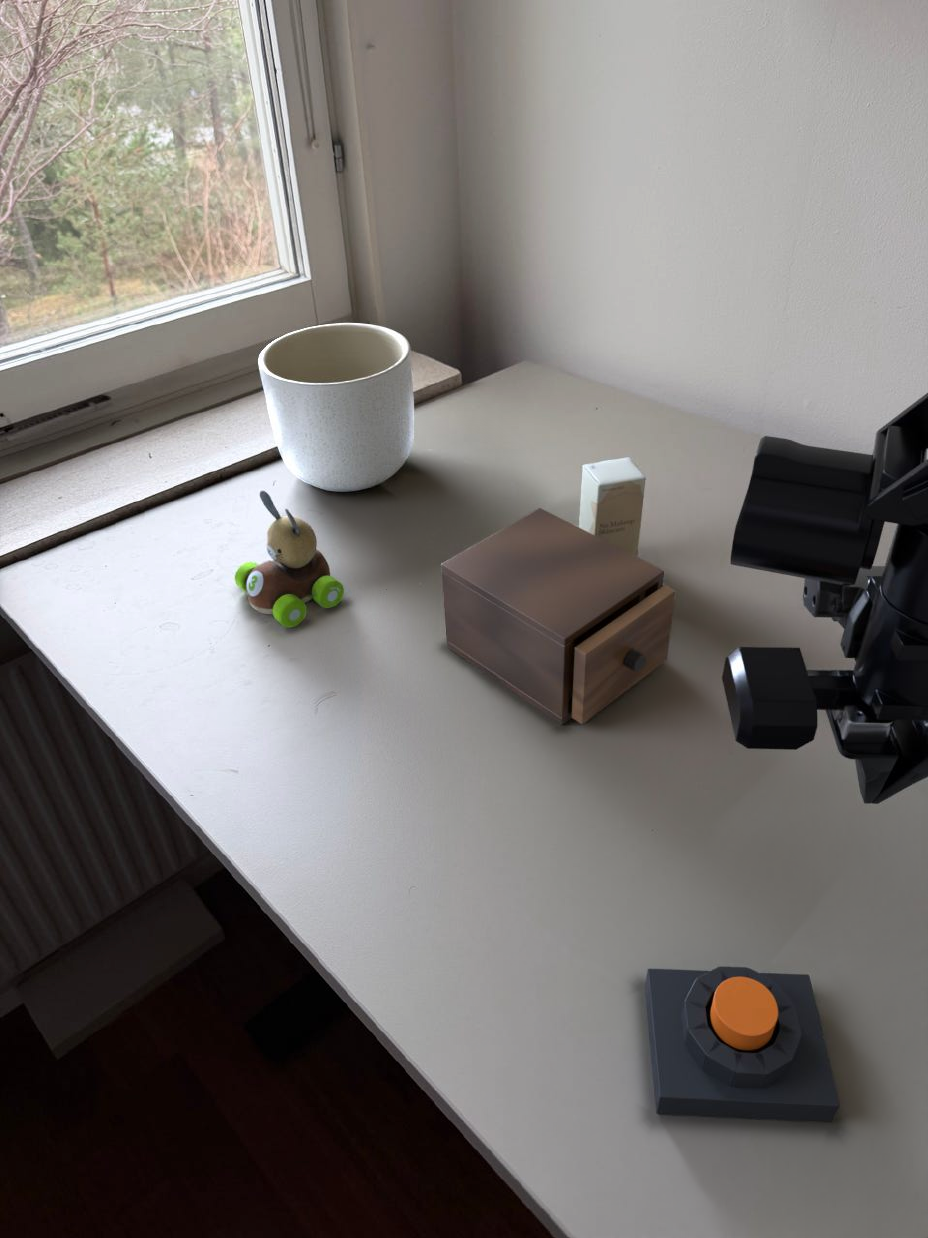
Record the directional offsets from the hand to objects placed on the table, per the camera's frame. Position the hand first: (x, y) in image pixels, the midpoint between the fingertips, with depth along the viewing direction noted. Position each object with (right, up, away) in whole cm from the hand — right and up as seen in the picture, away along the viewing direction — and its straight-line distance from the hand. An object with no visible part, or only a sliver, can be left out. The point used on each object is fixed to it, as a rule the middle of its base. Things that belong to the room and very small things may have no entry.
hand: (868, 797), depth 57 cm
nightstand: (-17, +8, +30) cm, 35 cm away
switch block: (-8, -16, 0) cm, 18 cm away
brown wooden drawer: (-15, +7, +28) cm, 32 cm away
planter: (-38, +29, +57) cm, 75 cm away
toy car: (-42, +13, +38) cm, 58 cm away
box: (-10, +16, +40) cm, 45 cm away
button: (-8, -13, -2) cm, 15 cm away
